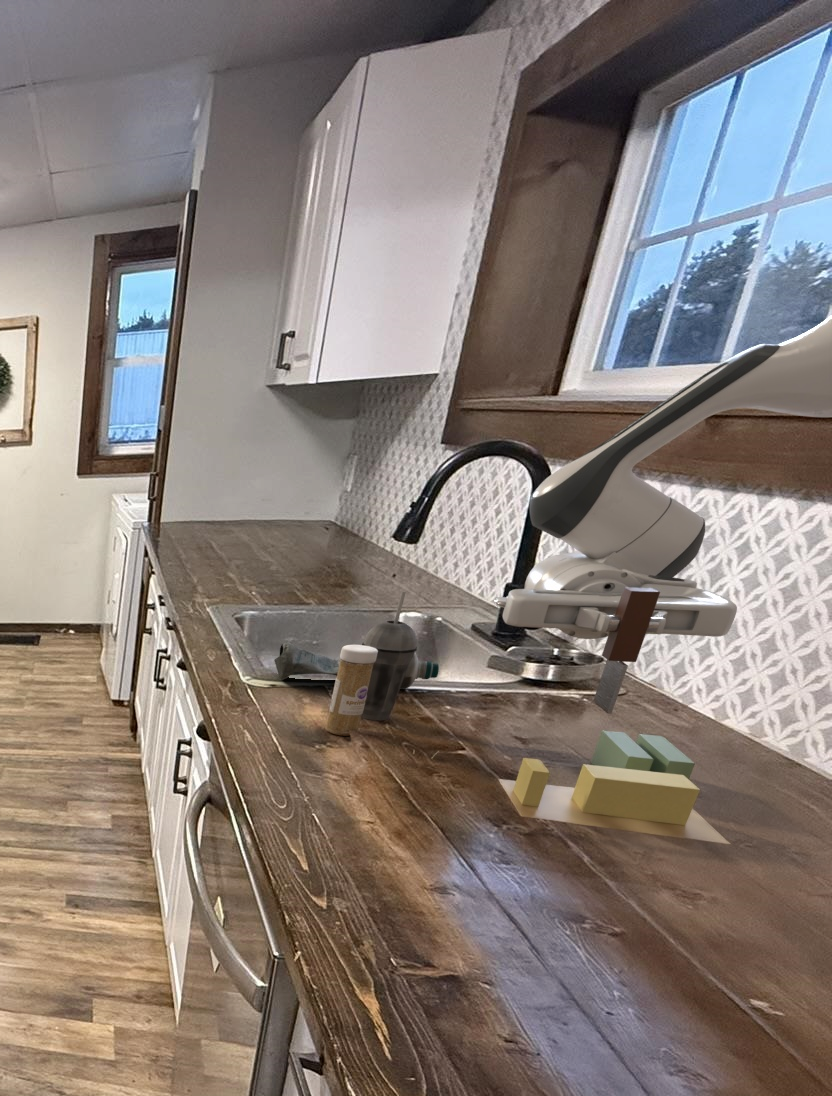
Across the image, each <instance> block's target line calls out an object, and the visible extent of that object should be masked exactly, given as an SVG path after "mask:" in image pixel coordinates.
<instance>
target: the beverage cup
mask: <svg viewBox="0 0 832 1096" xmlns="http://www.w3.org/2000/svg"><path fill="white" fill-rule="evenodd" d="M406 593H407V592H406V591H401V593H400V597H399V601H398V605H397V609H396V612H395V615H394V620H386V621H382V622H380V623H378V624H376V625H374V626H373V627H372V628H371V629H369V631H368V632H367V633H366V635H365V637H364V639H363V642H362V644H361V645H364V646H370V647H373V648H376V649H377V650H378V653H377V658H376V661H375V662H374V665H373V668H372V673H371V677H370V682H369V686H368V690H367V697H366V701H365V706H364V710H363V713H362V716H361V719H366V720H370V721H386V720H389V719H390V715H391V713H392V712H393V709H394V707H395V704H396V701H397V698H398V695H399V693H400V690H401V688H400V687H401V684H402V682H403V679H404V676H405V673H406V670H407V668H408V665H409V663H410V662H411V660H412V658H413V656H414V653H415V654H416V652H417V650H418V646H417V644H418V639H417V635H416V632H415V630H414V629H413V628H412V627H411V626H410V625H409V624H407V623H405V622H404V621H400V620H399V619H400V615H401V611H402V607H403V604H404V601H405V597H406Z"/></svg>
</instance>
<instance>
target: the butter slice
mask: <svg viewBox="0 0 832 1096" xmlns="http://www.w3.org/2000/svg"><path fill="white" fill-rule="evenodd" d="M550 774H551V772H550V771H549V769H548V768H547V767H546V766H545V764H544V763H543V761H542V760H541V759H539V758H530V757H523V758H522V761H521V764H520V768H519V770H518V773H517V777H516V780H515V781H516V783H515V786H514V789H513V791H514V793H515V794H516V796H517V798H518V799H519V801H520V802H521V804H522V805H529V806H537V807H539V804H540V801H541V798H542V795H543V792H544V789H545V786H546V785H547V784H548V780H549V777H550Z"/></svg>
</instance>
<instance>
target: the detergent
mask: <svg viewBox="0 0 832 1096" xmlns="http://www.w3.org/2000/svg"><path fill="white" fill-rule="evenodd" d="M340 660H341V659H335V658H334V659H333V658H329V657H328V656H325V655H321V654H317V653H315V652H312V651H310V650H307V649H303V648H298V647H297V646H295V645H294V644H293V643H291V642H289V641H288V642H287V641H286V642H283V643H282V644H281V645H280V647H279V655H278V656H277V657H276V658H274V660H273V661H274V665H275V667H276V671H277V674H278V677H279V679H280V680H281V681H283V680H286V679H287V678H289V677H290V676H298V675H299V676H300V675H330V676H331V675H332V676H336V677H337V675H338V671H339V665H340ZM439 665H440V664H439V663H437V662H436V663H434V662H432V661H430V660H429V661H427V660H425V661H421V660H419V659H418V655H417V654H416V652H415V653H414V656H413V658H412V660H411V662H410V663H409V665H408V668H407V670H406V673H405V676H404V679H403V682H402V684H401V687H400V690H401V689H402V690H404V689H409V688H410V687H412V685H413V684H414V683H415V681H416V680H418V679H421V680H430V679H436V678H438V675H439V673H440V671H439V670H440V666H439Z"/></svg>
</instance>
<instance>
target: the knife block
mask: <svg viewBox="0 0 832 1096" xmlns="http://www.w3.org/2000/svg"><path fill="white" fill-rule="evenodd" d="M590 764H591V765H596V766H605V767H614V768H623V769H632V770H642V771H651V772H660V773H669V774H678V775H684V776H685V777H686V778H688V779H689V780H690V778H691V775H692V773H693V771H694V767H695V765H696V762H694V761H693V760H692V759H691V758H690V757H688V756H687V754H685V753H683V752H682V750H680V749H679V748H677V747H676V746H675V745H674V744H672V743H671V742H670V741H669V740H668V739H667V738H666V737H664V736H663V735H655V734H644V733H639V734H638V735H637V739H636V741H634V740H633V738H631V737H630V736H629V735H628V734H627V733H626V732H624V731H623V732H621V731H613V730H612V731H611V730H601V732H600V735H599V738H598V740H597V744H596V746H595V749H594V752H593V755H592V758H591V760H590Z"/></svg>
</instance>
